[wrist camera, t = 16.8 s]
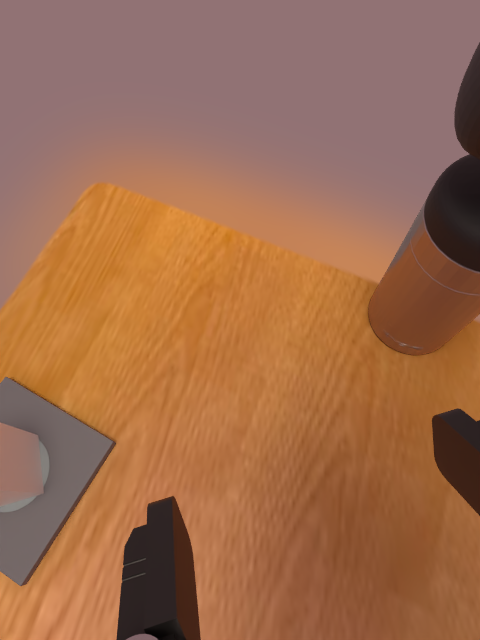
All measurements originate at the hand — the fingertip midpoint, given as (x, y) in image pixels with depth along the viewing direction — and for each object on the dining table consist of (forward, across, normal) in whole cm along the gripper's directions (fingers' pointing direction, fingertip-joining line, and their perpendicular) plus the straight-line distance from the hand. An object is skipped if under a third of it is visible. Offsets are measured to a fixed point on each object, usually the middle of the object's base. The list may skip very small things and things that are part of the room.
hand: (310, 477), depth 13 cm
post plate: (+28, +23, +15) cm, 40 cm away
